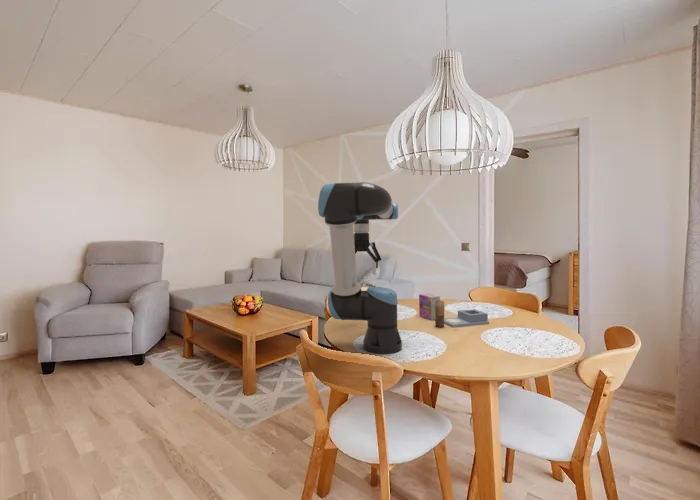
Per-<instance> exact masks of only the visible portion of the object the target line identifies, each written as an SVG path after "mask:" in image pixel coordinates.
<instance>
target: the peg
mask: <svg viewBox="0 0 700 500" xmlns="http://www.w3.org/2000/svg"><path fill="white" fill-rule="evenodd" d="M444 318H445V301H444V300H440V301H435V322H434V327H435V328H438V329H444V328H445V324H444Z"/></svg>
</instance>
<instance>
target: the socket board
mask: <svg viewBox="0 0 700 500" xmlns="http://www.w3.org/2000/svg"><path fill="white" fill-rule="evenodd" d="M488 315H489V313H487V312H484V311H482V310H478V309H463V310H457V316H453V317H444V325H447V326H449V327H450V328H459V327H460V328H461V327H470V326H472V327H473V326H481V325H489V324H490V320H488V317H489V316H488Z"/></svg>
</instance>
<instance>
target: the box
mask: <svg viewBox="0 0 700 500" xmlns="http://www.w3.org/2000/svg"><path fill="white" fill-rule="evenodd" d="M418 300H419V301H418V307H419V309H418V311H419V314H418V315H419V317H422V318H425V319H427V320H430V321H434V320H435V301H441V296H439V295H436V294H431V293H428V292H426V293H419V295H418Z"/></svg>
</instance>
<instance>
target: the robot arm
mask: <svg viewBox="0 0 700 500" xmlns="http://www.w3.org/2000/svg"><path fill="white" fill-rule="evenodd" d="M317 203H318V204H317V211H318V215H319V217H321V218H324V223H325V224H326V225H327V226H329V232H330V233H329V235H330V244H331V246H330V247H331V255H332V256H331V257H332V269H333V276H334V284H333V285H332V287H331V290H329V292H328V293H327V307H328V312H329V315H330V316H331V318H333V319H335V320H341V321H346V320H347V321H365V322H366V321H367V328H366V331H365V335H364V338H363V340H362V343H363V345H362V347H363V349H364V350H365V351H368V352H370V353H374V354H381V355H383V354H385V355H386V354H394V353H398V352H400V351H401V350H403V348H402V347H403V342H402V337H401V334H400V332H399V329H398V305H399V302H398V294H397V292H396V291H395V290H393V289H391V288H387V287H381V286H369V287H367V289H366V290H362V285H361V284H360V283H359V282H358V277H357V265H356V264H357V263H356V253H358V252H359V253H360V252H367V254H368V255H369V256H370V258H371V259H372V260H373V261H372V275H374V276H376V275H377V269H378V267H379V265H378V264H379V263H378V262H379V261H382V257H381V255H380V253H379V250H378V248H377V246H376V242H375V241H372V242H370V233H369V232H370V220H371V221H373V220H374V221H376V220H389V221H390V220H391V221H392V220H397V219H398V217H399V204H398V203H397V202H392V196H391V195H390V193H389V191H387V190H386V189H385V188H384V187H383V186H382V187H381V186H379V185H377V184H375V183H371V182H365V181H362V182H361V181H360V182H332V183H326V184H325V183H324V185H322V187H321V189H320V191H319V196H318V202H317ZM369 247H371V249H372V250H371V249H370V248H369ZM372 251H373V252H372ZM373 253H374V254H373Z"/></svg>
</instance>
